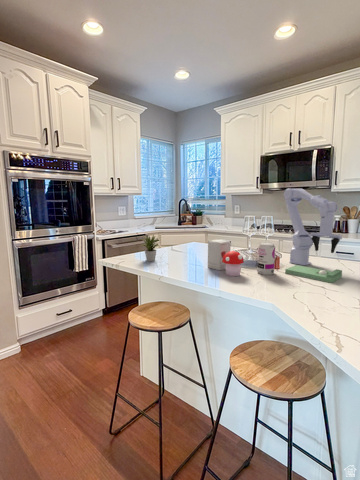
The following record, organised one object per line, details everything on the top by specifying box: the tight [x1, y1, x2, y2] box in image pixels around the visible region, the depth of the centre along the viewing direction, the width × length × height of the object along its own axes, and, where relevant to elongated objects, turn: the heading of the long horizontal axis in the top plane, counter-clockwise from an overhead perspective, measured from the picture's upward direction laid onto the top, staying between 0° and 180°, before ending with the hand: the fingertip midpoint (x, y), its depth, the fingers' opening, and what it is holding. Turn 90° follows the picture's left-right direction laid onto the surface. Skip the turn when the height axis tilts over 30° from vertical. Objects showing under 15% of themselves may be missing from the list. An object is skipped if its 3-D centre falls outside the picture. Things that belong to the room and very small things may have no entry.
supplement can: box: [256, 242, 276, 276], centre depth 138 cm, size 8×8×15 cm
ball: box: [318, 269, 327, 275], centre depth 130 cm, size 4×4×4 cm
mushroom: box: [222, 249, 245, 277], centre depth 136 cm, size 11×11×12 cm
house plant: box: [140, 233, 162, 262], centre depth 166 cm, size 14×14×16 cm
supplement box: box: [207, 238, 232, 271], centre depth 149 cm, size 9×9×15 cm
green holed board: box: [284, 264, 343, 284], centre depth 134 cm, size 22×12×4 cm, turn 42°
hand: (324, 251), depth 141 cm, fingers open, 7 cm apart
